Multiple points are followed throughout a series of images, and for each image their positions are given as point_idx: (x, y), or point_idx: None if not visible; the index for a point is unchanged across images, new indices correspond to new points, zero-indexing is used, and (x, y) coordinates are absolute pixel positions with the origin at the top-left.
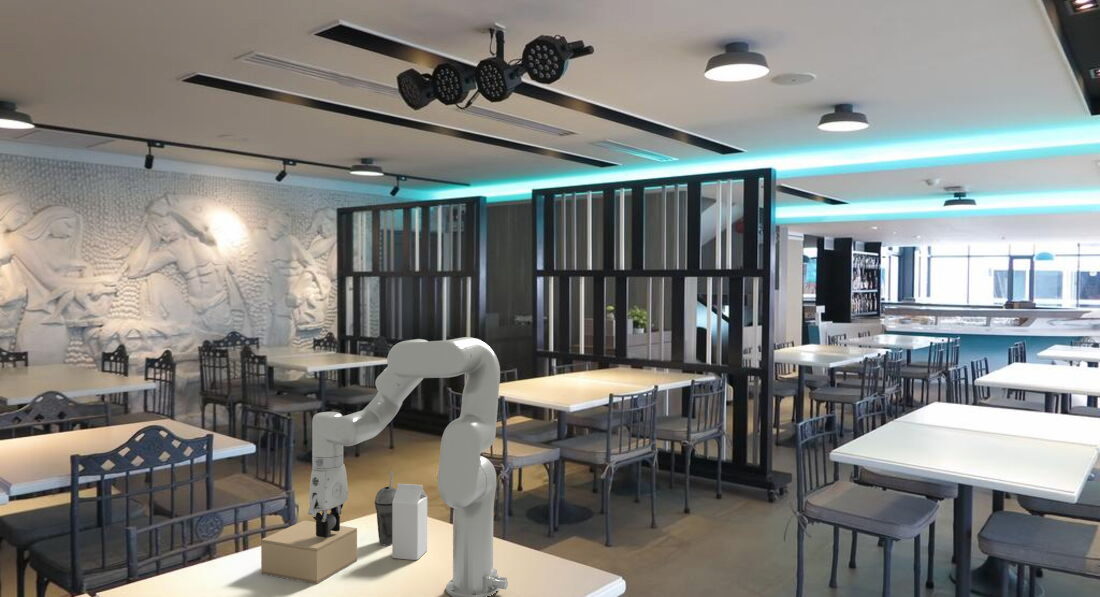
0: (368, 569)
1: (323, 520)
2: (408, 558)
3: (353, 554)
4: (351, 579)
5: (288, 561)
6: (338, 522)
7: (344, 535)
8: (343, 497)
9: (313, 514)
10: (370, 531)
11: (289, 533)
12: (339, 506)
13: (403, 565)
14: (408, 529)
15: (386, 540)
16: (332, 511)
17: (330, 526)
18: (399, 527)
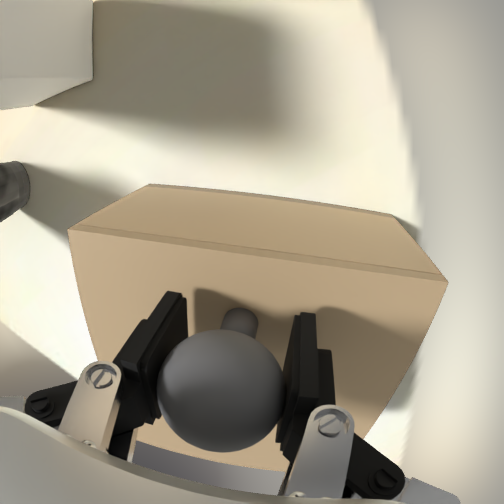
0: (205, 93)
1: (340, 421)
2: (90, 24)
3: (155, 193)
4: (320, 105)
5: None
6: (158, 328)
7: (176, 241)
8: (9, 480)
9: (440, 495)
10: (3, 268)
11: (260, 448)
12: (78, 422)
13: (137, 7)
14: (15, 7)
15: (17, 177)
16: (129, 425)
17: (261, 347)
18: (6, 43)
